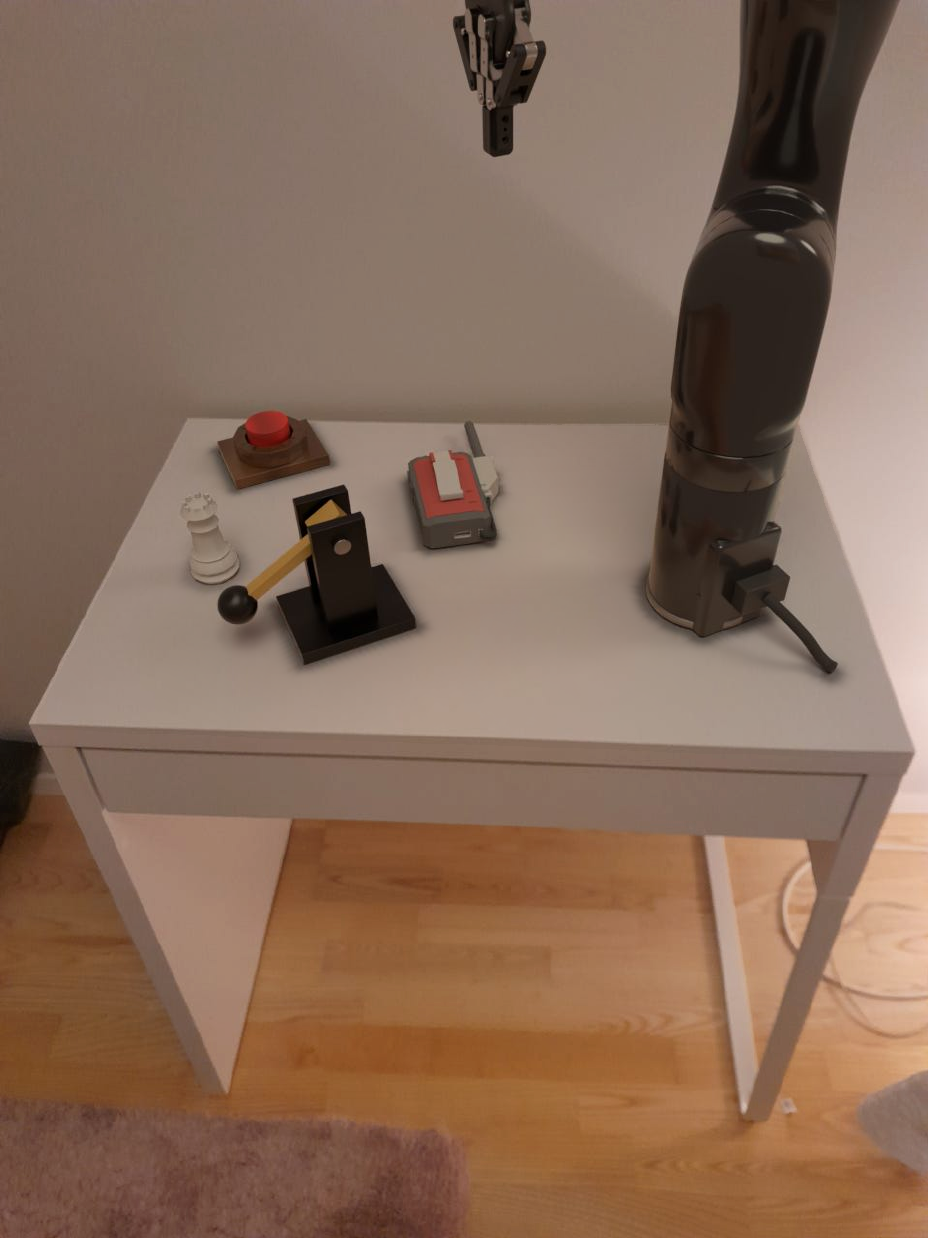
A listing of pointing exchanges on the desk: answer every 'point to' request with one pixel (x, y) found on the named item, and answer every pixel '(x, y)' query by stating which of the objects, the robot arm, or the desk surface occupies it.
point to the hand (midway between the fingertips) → (498, 153)
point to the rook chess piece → (208, 541)
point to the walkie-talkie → (454, 495)
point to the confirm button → (267, 429)
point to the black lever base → (340, 585)
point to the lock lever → (270, 574)
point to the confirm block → (272, 455)
